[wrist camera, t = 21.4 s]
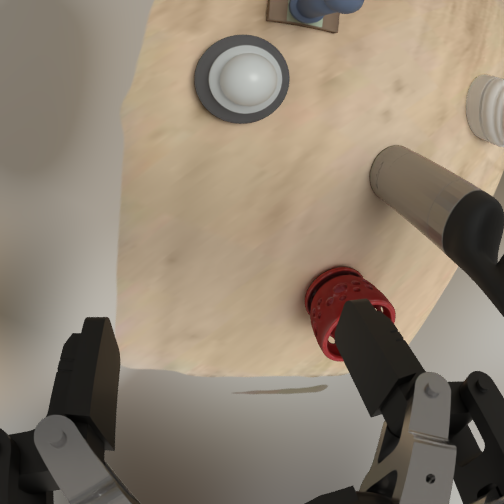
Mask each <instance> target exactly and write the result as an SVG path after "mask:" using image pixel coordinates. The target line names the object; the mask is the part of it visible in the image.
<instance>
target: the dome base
mask: <svg viewBox="0 0 504 504" xmlns="http://www.w3.org/2000/svg"><path fill="white" fill-rule="evenodd" d="M242 45H251V46H256V47H259V48H262V49H264V50H265V51H267V52H268V53H270V54H271V55H272V56H273V57H274V58H275V59H276V61H277V62H278V64H279V66H280V69H281V73H282V85H281V89H280V92H279V94H278V96H277V97H276V99H275V100H274V101H273V102H272V103H271V104H270V105H269V106H268V107H266V108H265V109H263V110H261V111H258V112H255V113H249V114H243V113H236V112H233V111H230V110H228V109H226V108H225V107H223V106H222V105H221V104H220V103H219V102H218V101H217V100H216V99H215V98H214V96H213V95H212V93H211V91H210V87H209V82H208V77H209V72H210V68H211V66H212V64H213V62H214V61H215V60H216V58H217V57H218V56H219V55H221V54H222V53H223V52H225V51H227V50H229V49H230V48H233V47H236V46H242ZM194 79H195V89H196V92H197V95H198V97H199V99H200V101H201V102H202V104H203V105H204V106H205V108H206V109H207V110H208V111H209V112H211V113H212V114H213V115H215V116H216V117H218V118H220V119H222V120H225V121H227V122H232V123H239V124H241V123H252V122H256V121H259V120H261V119H263V118H265V117H267V116H269V115H270V114H272V113H273V112H274V111H275V110H276V109H277V108H278V107H279V106H280V105H281V103H282V102H283V100H284V98H285V96H286V94H287V91H288V87H289V70H288V66H287V64H286V61H285V59H284V57H283V56H282V54H281V53H280V52H279V50H278V49H277V48H276V47H275V46H273V45H272V44H271V43H269V42H268V41H266V40H264V39H261V38H259V37H256V36H251V35H234V36H230V37H227V38H224V39H221V40H220V41H218V42H216V43H215V44H213V45H212V46H211V47H210V48H208V49H207V50H206V52H205V53H204V54H203V55H202V57H201V58H200V60H199V62H198V64H197V67H196V70H195V77H194Z"/></svg>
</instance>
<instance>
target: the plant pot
mask: <svg viewBox="0 0 504 504" xmlns="http://www.w3.org/2000/svg"><path fill="white" fill-rule="evenodd" d="M357 299H368V300H369V301H370V302H371V304H372V305H373V307H374V308H376V309H377V311H381V307H382V308H383V312H382V311H381V312H382V313H383V314H384V315H386V316H387V317H388V318H390V319H391V321H392V322H393V324H394V322H395V309H394V307H393V306H392V304H391V303H390V302H389V300H388V299H387V298H386V297H385V296H384V294H383V293H381V292H380V291H379V290H378V289H377V288H376V287H375V286H374V285H373V284H371V283H370V282H368V281H367V280H365V279H364V278H363V277H362V275H361V274H360V273H359V272H358V271H356V270H355V269H352V268H348V267H339V268H334V269H331V270H329V271H326V272H325V273H323V274H321V275H320V276H319V277H317V278H316V279H315V280H314V281H313V283H312V284H311V285H310V287H309V289H308V291H307V293H306V297H305V307H306V310H307V312H308V314H309V315H310V317H311V324H312V328H313V332H314V335H315V337H316V339H317V342H318V344H319V346H320V348H321V350H322V351H323V353H324V354H325V356H326V357H328V358H329V359H331V360H334V361H343V359H342V357H341V354H340V352H339V350H338V348H337V346H336V343H334V344H332V343H330V342H329V341H328V338H329V336H331V337H333V338H334V340H335V330H336V327H337V324H338V321H339V318H340V315H341V312H342V309H343V306H344V304H345V302H346V301H349V300H357Z"/></svg>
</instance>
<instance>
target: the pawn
mask: <svg viewBox="0 0 504 504" xmlns="http://www.w3.org/2000/svg"><path fill="white" fill-rule="evenodd" d="M363 2H364V0H290V2H289V11H290V13H291V15H292V16H293V17H294V18H295V19H296V20H297V21H299V22H302V23H306V24H310V23H315V22H318V21H320V20H321V19H322V18H323V17H324V16H325V15H328V14H332V13H337V12H338V13H342V14H349V13H353V12H356V11H357V10H359V9H360V8H361V6H362V5H363Z"/></svg>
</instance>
